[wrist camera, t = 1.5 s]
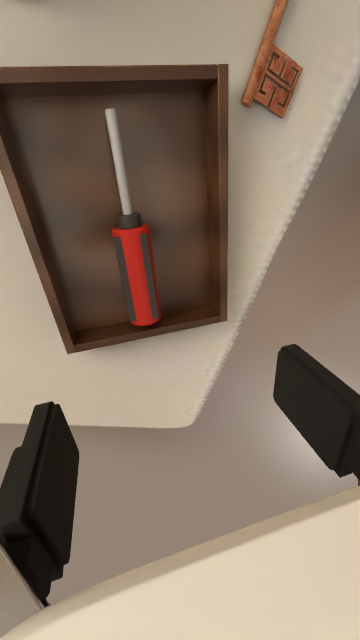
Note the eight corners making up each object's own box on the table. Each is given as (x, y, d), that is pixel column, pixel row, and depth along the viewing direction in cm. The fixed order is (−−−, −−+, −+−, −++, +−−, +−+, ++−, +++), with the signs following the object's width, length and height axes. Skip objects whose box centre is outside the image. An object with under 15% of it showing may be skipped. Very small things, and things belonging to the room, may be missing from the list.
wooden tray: (-16, 85, 18) (-38, 66, 15) (212, 79, 21) (228, 63, 18) (70, 337, 28) (67, 354, 25) (216, 308, 31) (227, 320, 28)
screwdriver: (92, 116, 20) (82, 105, 17) (133, 113, 20) (131, 101, 17) (131, 313, 28) (129, 328, 25) (160, 309, 28) (161, 323, 25)
